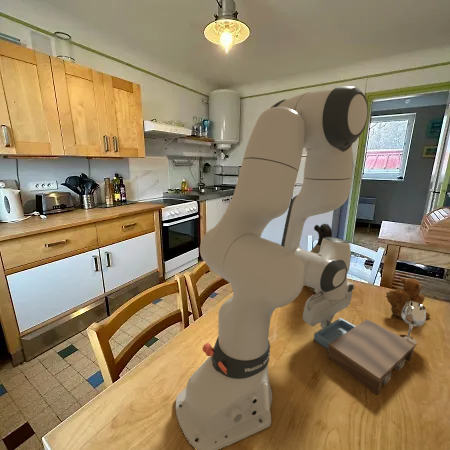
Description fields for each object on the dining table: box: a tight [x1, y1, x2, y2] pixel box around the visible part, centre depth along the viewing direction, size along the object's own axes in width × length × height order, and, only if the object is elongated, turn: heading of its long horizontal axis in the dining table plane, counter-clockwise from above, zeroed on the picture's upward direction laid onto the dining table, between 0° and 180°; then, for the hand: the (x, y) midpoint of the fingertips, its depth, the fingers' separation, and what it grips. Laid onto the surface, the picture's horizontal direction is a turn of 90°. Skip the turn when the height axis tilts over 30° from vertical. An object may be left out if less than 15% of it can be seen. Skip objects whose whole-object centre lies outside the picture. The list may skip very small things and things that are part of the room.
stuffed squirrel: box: [384, 277, 431, 320], centre depth 86 cm, size 10×14×13 cm
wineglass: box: [399, 301, 427, 345], centre depth 73 cm, size 6×6×12 cm
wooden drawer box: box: [327, 318, 417, 396], centre depth 66 cm, size 20×13×5 cm, turn 123°
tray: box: [313, 317, 357, 352], centre depth 70 cm, size 14×18×2 cm
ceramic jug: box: [308, 223, 333, 294], centre depth 100 cm, size 17×15×30 cm
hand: (325, 326), depth 78 cm, fingers closed, pressing on tray
